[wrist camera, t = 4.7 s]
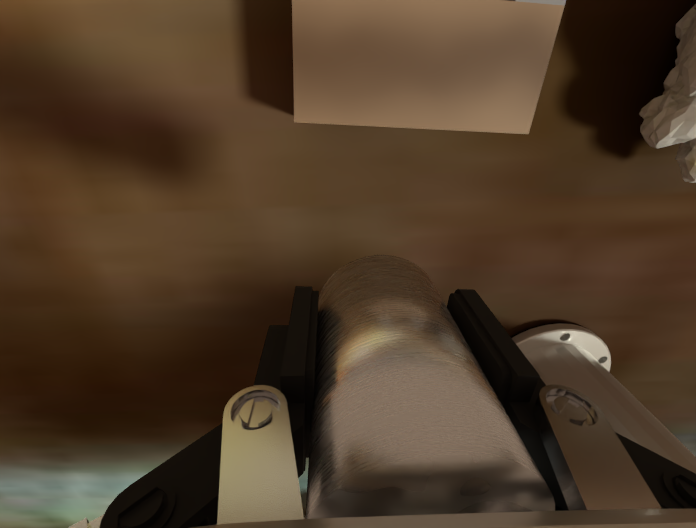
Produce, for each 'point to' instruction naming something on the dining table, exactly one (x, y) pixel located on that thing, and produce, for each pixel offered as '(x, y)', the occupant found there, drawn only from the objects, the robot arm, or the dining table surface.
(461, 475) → the white glossy cylinder
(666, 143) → the mineral
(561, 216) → the dining table surface
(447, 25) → the frame
